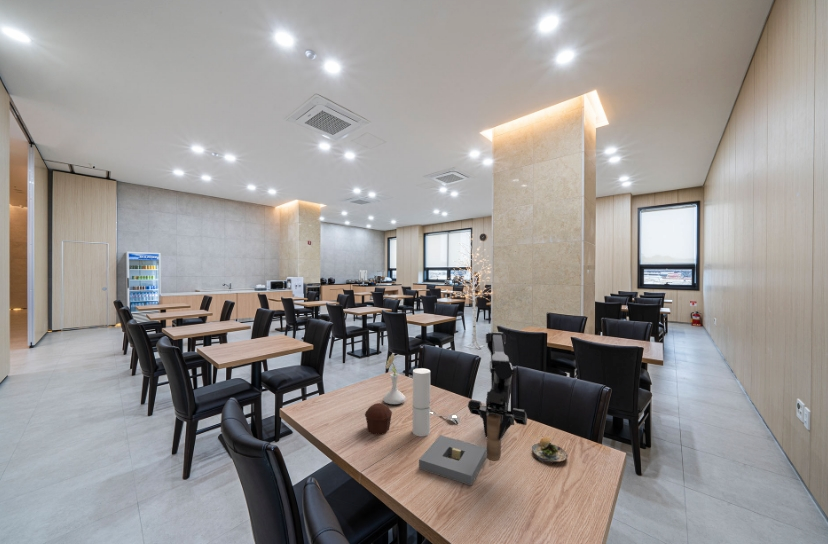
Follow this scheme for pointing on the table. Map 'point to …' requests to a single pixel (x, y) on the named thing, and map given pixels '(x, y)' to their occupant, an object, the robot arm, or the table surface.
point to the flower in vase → (393, 386)
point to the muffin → (378, 418)
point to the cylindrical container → (421, 402)
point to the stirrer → (451, 417)
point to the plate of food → (548, 452)
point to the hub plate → (450, 468)
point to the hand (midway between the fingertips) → (492, 438)
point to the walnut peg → (493, 437)
